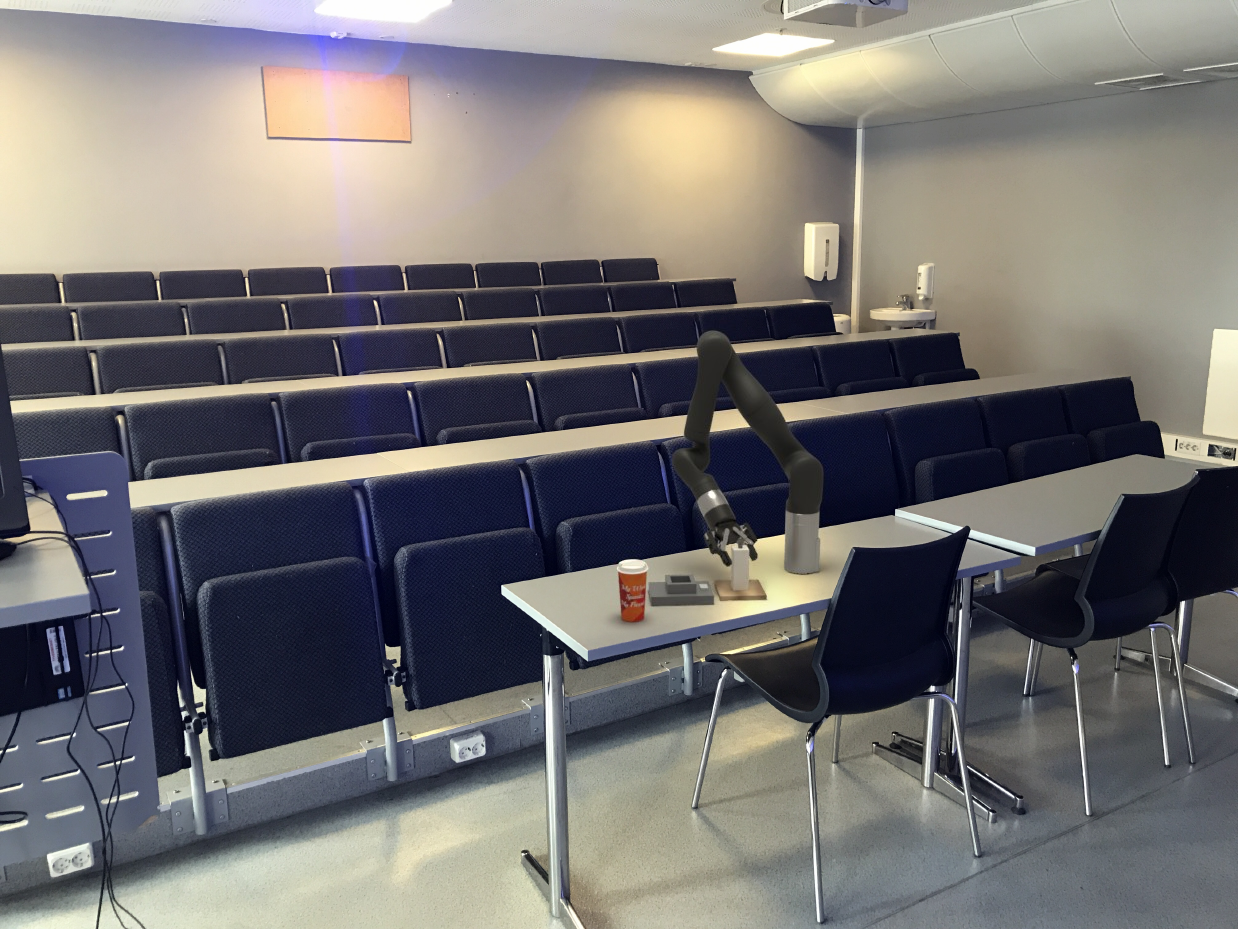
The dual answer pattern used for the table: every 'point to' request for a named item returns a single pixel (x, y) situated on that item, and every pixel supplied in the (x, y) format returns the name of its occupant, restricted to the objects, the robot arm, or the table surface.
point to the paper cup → (632, 589)
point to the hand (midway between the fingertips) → (742, 562)
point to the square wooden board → (739, 591)
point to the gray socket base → (680, 591)
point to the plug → (740, 566)
